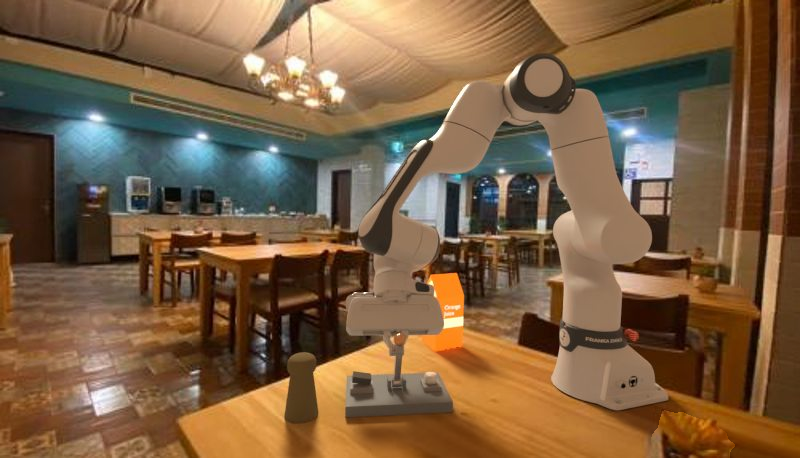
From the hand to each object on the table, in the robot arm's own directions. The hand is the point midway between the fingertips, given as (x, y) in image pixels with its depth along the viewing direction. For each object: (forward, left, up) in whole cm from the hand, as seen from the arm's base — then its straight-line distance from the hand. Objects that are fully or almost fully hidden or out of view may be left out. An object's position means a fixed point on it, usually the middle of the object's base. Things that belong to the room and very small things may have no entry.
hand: (396, 354), depth 71 cm
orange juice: (-16, -28, -10) cm, 34 cm away
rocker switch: (+7, -1, -5) cm, 8 cm away
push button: (-7, -1, -6) cm, 10 cm away
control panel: (0, -1, -9) cm, 9 cm away
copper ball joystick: (0, -1, -6) cm, 6 cm away
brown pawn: (+18, +3, -9) cm, 20 cm away
